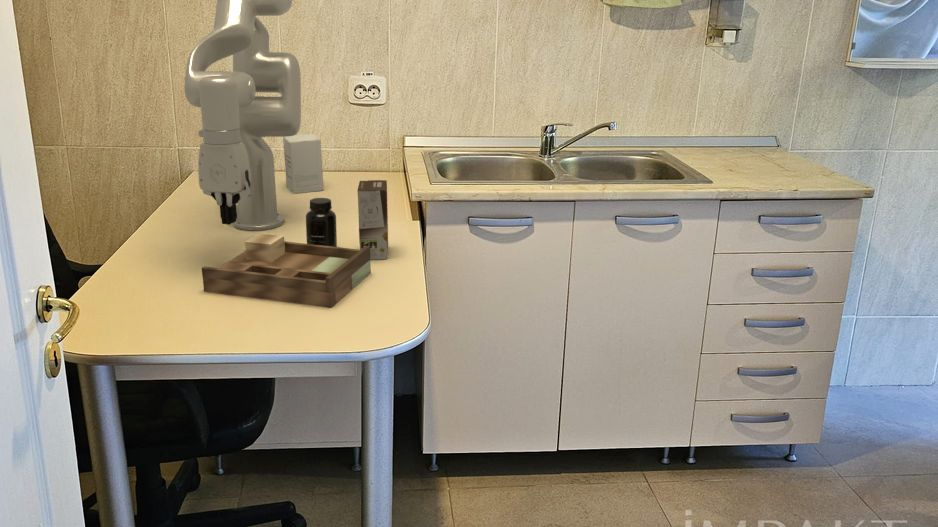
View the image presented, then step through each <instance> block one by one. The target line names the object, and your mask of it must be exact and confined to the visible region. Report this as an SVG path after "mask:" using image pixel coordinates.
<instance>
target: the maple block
mask: <svg viewBox="0 0 938 527" xmlns="http://www.w3.org/2000/svg"><path fill="white" fill-rule="evenodd" d="M284 241H285V235H280V234H279V235H277V234H270V233H269V234H268V233H260V232H259V233H257V234H255V235H254V236H252V237H250V238H249V239H247V240H246V241H245V242H244V245H245V251H246V260H255V261H263V262H273V261H275V260H276V259H278V258H279V257H281V256H282V255H284V254H285V242H286V241H285V242H284Z"/></svg>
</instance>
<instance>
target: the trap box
mask: <svg viewBox="0 0 938 527" xmlns="http://www.w3.org/2000/svg"><path fill="white" fill-rule="evenodd" d="M284 242H285V254H284V255H282V256H281V257H279V258H278V259H276V260H275V261H273V262H263V261H255V260H246V250H245V251H243V252H241V253H240V254H238V255H236V256H235V257H234V258H232V259H230V260H228V261H227V262H225V263H224V264H222V265H220V266H218V267H214V266H202V267H201V275H202V284H203V292H208V293H216V294H223V295H230V296H231V295H232V296H237V297H238V296H239V297H246V298H253V299H254V298H255V299H264V300H270V301H279V302H286V303H295V304H300V305H301V304H302V305H307V306H308V305H309V306H310V305H311V306H317V307H323V308H324V307H326V308H333V307H334V306H335V305H336V304H337V303H338V302H339V301H341V299H343V298H344V297H345V296H346V295H348V294H349V293H350V292H351V291H352V290H353V289H354V288H355V287H357V285H359V284H360V283H361V282H362V281H363V280H364V279H365V278H367V277H368V276H369V275H370V274H371V273H372V269H371V267H372V266H371V264H372V263H371V262H372V261H371V259H370V246H365V247H363V248H362V249H361V250H360V248H359V249H357V248H350V247H341V246H339V247H338V246H337V247H332V246H322V245H313V244H307V243H301V242H295V241H294V242H292V241H285V240H284ZM350 290H351V291H350ZM349 291H350V292H349Z"/></svg>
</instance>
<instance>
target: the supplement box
mask: <svg viewBox="0 0 938 527" xmlns="http://www.w3.org/2000/svg"><path fill="white" fill-rule="evenodd" d="M321 142H322V141H321V139H320V138H318V137H317V136H316V135H315V134H313V133H309V134H296V135H294V136H288V137H282V143H283V153H284V154H283V155H284V157H283V158H284V167H285V168H284V170H285V181H286V182H285V183H286V185H285V186H286V187H287V189H289V190H290V191H291V193H292V194H295V195H296V194H303V193H311V192H313V193H314V192H320V191H324V190H325V189H324V177H323V176H324V174H323V173H324V172H323V158H322V155H323V154H322V143H321Z"/></svg>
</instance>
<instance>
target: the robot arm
mask: <svg viewBox="0 0 938 527" xmlns="http://www.w3.org/2000/svg"><path fill="white" fill-rule="evenodd" d="M292 5H293V0H217V1H216V7H215V13H214V14H215V15H214V16H215V17H214V24H213V30H212V31H211V32H210V33H208V34H207V35H206V36H204V37H203V38H202V39H200V41H198V43H197V44H196V45H195V47H193V49H192V50H191V52H190V53H189V56H188V59H187V63H186V69H185V76H184V96H185V98H186V100H187V102H188V103H189V104H190V105H192V106H193V107H197V108H200V112H201V114H200V115H201V124H202V129H201V130H198V134H197V135H198V137H200V138H201V137H202V139H203V140H202V141H203V142H202V143H200V144H199V151H198V161H197V162H198V168H197V169H198V170H197V171H198V184H199V189H201V190H202V193H203V194H204V195H205V196H206V195H207V196H209V197H212V198H213V200H214V201H215V203H216V205H218V206H219V214H220V219H221V224H222V225H228V226H229V225H232V226H233V227H234V228H237V229H239V230H242V231H243V230H244V231H264V230H269V229H275V228H278V227H280V226H282V225H283V224H284V223H285V217H284V216H283V215H282V214H280V213H278V203H277V202H278V201H277V190H276V189H277V188H276V175H275V159H274V158H275V157H274V154H273V150H272V149H271V147H270V146H269V144H268V143H267V142H266V141H265V140H264V138H266V137H268V138H270V137H271V138H272V137H276V138H277V137H281V138H283V137H288V136H294V135H298V133H299V131H300V129H301V123H302V105H301V103H302V101H301V100H302V98H301V96H302V94H301V93H302V89H301V86H302V82H301V77H302V76H301V69H300V64H299V61H298V60H299V59H298V58H297V57H296V56H295V55H294V54H292V53H288V52H282V51H281V52H278V51H277V52H272V51H271V52H270V34H269V30H268V29H267V28H266V26H265V25H264V24H263V23H262V21H261V20H260V19H259V18H258V17H257V16H260V17H261V16H263V17H264V16H268V17H273V16H275V17H276V16H277V17H278V16H283V15H284V14H285V13H287V12H289V11H290V9H291V6H292ZM231 56H232V70H231V71H228V70H227V71H225V70H224V71H222V70H221V71H220V70H219V71H218V70H217V71H216V70H215V71H213V70H212V71H210V70H208V68H209V67H210V66H211V65H213V64H214V63H216V62H218V61H221V60H222V59H225V58H228V57H231ZM256 93H277V94H280V96H263V95H262V96H257V95H256Z"/></svg>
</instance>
